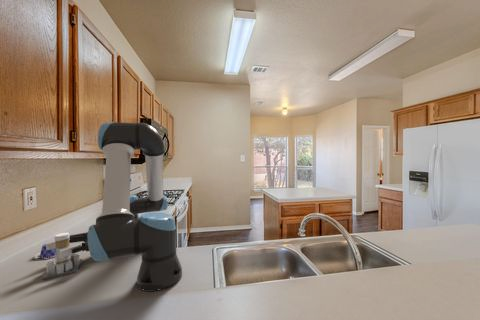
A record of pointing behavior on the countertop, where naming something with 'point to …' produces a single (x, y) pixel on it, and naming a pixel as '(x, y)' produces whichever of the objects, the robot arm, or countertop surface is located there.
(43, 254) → the checkered hat
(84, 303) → the countertop surface
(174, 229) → the robot arm
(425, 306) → the countertop surface
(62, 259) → the sprinkles bottle
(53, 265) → the collar
